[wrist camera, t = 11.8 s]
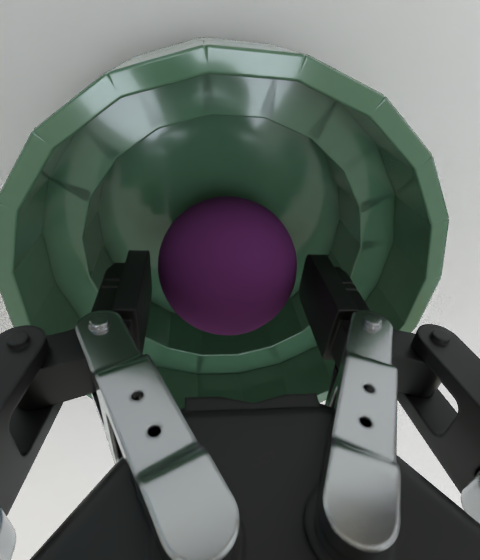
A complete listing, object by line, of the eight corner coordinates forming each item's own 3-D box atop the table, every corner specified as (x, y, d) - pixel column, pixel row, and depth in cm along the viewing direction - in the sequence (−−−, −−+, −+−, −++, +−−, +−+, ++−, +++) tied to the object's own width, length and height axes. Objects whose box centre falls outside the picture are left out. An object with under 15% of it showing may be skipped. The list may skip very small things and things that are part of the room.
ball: (164, 281, 18) (155, 367, 14) (159, 172, 15) (146, 237, 10) (272, 282, 19) (298, 363, 14) (290, 178, 16) (330, 240, 11)
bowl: (85, 338, 21) (52, 433, 16) (13, 17, 12) (-106, 12, 7) (333, 336, 23) (370, 419, 18) (423, 58, 14) (541, 76, 9)
